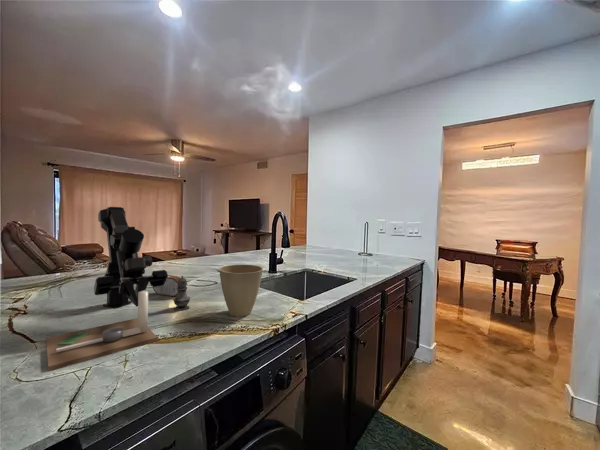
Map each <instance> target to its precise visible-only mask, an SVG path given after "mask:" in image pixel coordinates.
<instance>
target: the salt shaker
mask: <svg viewBox="0 0 600 450" xmlns="http://www.w3.org/2000/svg"><path fill="white" fill-rule="evenodd" d="M187 289H188V287H187V279H186V278H185V277H184V276H183V275H181V277H180V279H179V280H178V288H177V290H178V294H177V296H176V297H173V298H172V301H173V303H174V305H175V307H173V310H174V311H176V312H177V311H178V312H179V311H180V312H182V311H186V310H189V309H190V308H191V307H190V306H189V305H188V304H189V303H190V301H191V300H190V299H191V296H188V295H187V294H188V293H187Z"/></svg>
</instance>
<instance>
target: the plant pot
mask: <svg viewBox="0 0 600 450" xmlns="http://www.w3.org/2000/svg"><path fill="white" fill-rule="evenodd" d="M263 270H264V269H263V267H262V266H259V265H254V264H243V263H242V264H241V263H239V264H230V265H228V264H227V265H225V266H224V265H223V266H221V267H220V268H219V278H220V285H221V290H222V293H223V298H224V302H225V304H226V308H227V310H228V313H229V314H230V316H231V317H238V318H239V317H246V316H248V315H251V314H252V310H253V308H254V306H255V303H256V300H257V297H258V293H259V291H260V290H259V289H260V286H261V282H262V276H263Z"/></svg>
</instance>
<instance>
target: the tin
mask: <svg viewBox="0 0 600 450" xmlns="http://www.w3.org/2000/svg"><path fill="white" fill-rule="evenodd" d="M180 278H181V277H180V276H177V275H171V274H168V277H167V279H166V281H165V284H164V285H162V286H156V287H153V286H152V289H153V291H154V293H155V294H157V295H160V296H166V297H170V298H175V297H177V294H178V290H177V288H178V280H179V279H180Z"/></svg>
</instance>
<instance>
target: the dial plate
mask: <svg viewBox="0 0 600 450" xmlns="http://www.w3.org/2000/svg"><path fill="white" fill-rule="evenodd" d="M115 327H120V328H123V331H124V330H129V329H133V328H137V327H138V317H136V318H132V319H127V320H121V321H117V322H113V323H108V324H104V325H100V326H94V327H90V328H86V329H80V330H77V331H76V330H75V331H71V332H66V333H61V334H57V335H53V336H48V337H46V338H45V345H46V346H45V347H46V358H47V370H48V372H50V371H54V370H57V369H61V368H65V367H68V366H72V365H75V364H79V363H83V362H87V361H89V360H90V361H91V360H93V359H98V358H101V357H104V356H109V355H113V354H115V353H118V352H123V351H126V350H130V349H133V348H136V347H140V346H144V345H148V344H151V343H154V342H157V341H158V336H157V335H156V334H155V333H154V332H153V331H152V330H151V328H150V327H148V331H146V332H143V333H138V334H134V335H130V336H126V337H122V338H121V339H120V340H117V341H114V342H103V341H100V342H96V343H92V344H88V345H84V346H80V347H76V348H72V349H68V350H64V351H60V352H56V349H57V348H61V347H65V346H70V345H74V344H78V343H82V342H86V341H91V340H95V339H99V338H102V333H103V331H104V330H107V329H110V328H115Z"/></svg>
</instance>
